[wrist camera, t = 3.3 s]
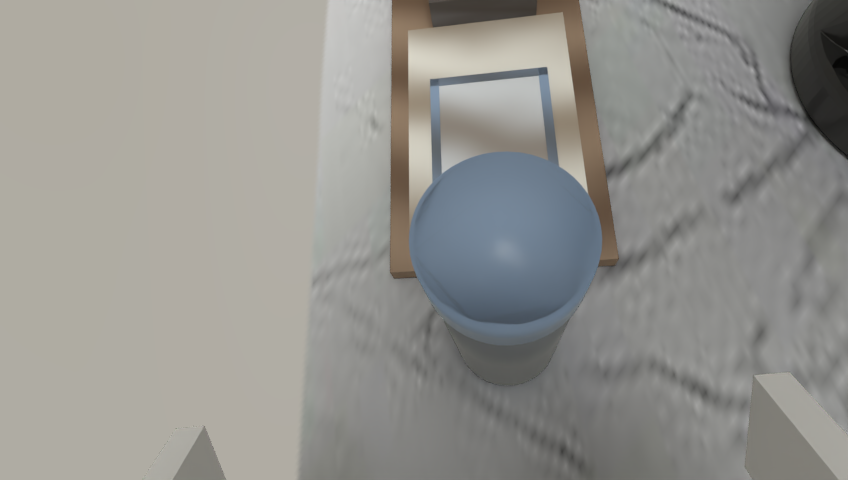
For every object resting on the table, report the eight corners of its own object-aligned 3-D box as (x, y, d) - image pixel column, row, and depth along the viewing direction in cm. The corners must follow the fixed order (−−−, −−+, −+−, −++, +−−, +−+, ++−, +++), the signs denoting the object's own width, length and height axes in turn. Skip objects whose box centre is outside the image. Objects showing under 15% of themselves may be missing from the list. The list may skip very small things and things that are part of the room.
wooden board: (395, -40, 36) (386, -81, 33) (565, -63, 35) (570, -108, 32) (394, 278, 28) (381, 259, 25) (614, 265, 27) (627, 243, 24)
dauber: (492, 277, 27) (477, 122, 14) (573, 329, 26) (638, 207, 13) (439, 354, 26) (371, 261, 13) (521, 411, 25) (533, 370, 12)
